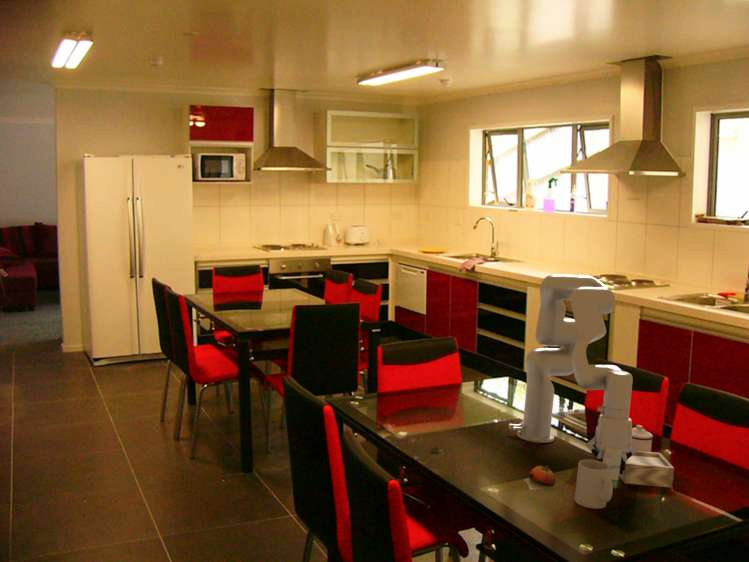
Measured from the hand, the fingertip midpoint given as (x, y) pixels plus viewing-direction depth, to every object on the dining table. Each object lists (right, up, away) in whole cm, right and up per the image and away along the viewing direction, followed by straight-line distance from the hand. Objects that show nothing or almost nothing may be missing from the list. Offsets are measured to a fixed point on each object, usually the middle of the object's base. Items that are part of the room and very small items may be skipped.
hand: (609, 471), depth 240 cm
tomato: (-21, -3, -2) cm, 21 cm away
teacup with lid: (+14, -2, +24) cm, 28 cm away
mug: (-9, -5, -18) cm, 21 cm away
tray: (+12, -4, +8) cm, 15 cm away
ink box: (0, -4, +1) cm, 4 cm away
